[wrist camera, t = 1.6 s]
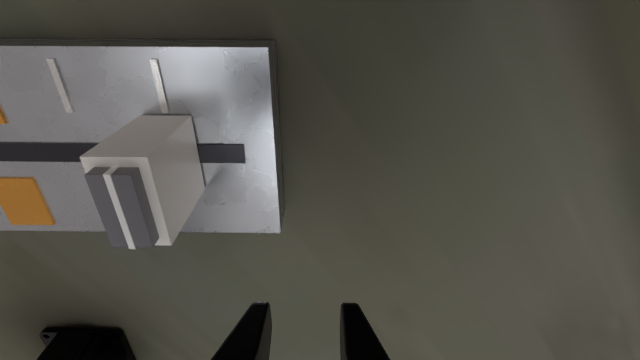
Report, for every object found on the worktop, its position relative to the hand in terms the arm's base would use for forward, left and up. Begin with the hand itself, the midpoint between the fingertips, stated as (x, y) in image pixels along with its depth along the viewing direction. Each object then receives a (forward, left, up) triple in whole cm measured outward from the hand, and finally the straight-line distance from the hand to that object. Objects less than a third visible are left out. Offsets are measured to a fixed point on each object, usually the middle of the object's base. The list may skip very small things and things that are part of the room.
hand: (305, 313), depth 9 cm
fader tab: (0, +7, -9) cm, 12 cm away
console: (0, +11, -12) cm, 16 cm away
